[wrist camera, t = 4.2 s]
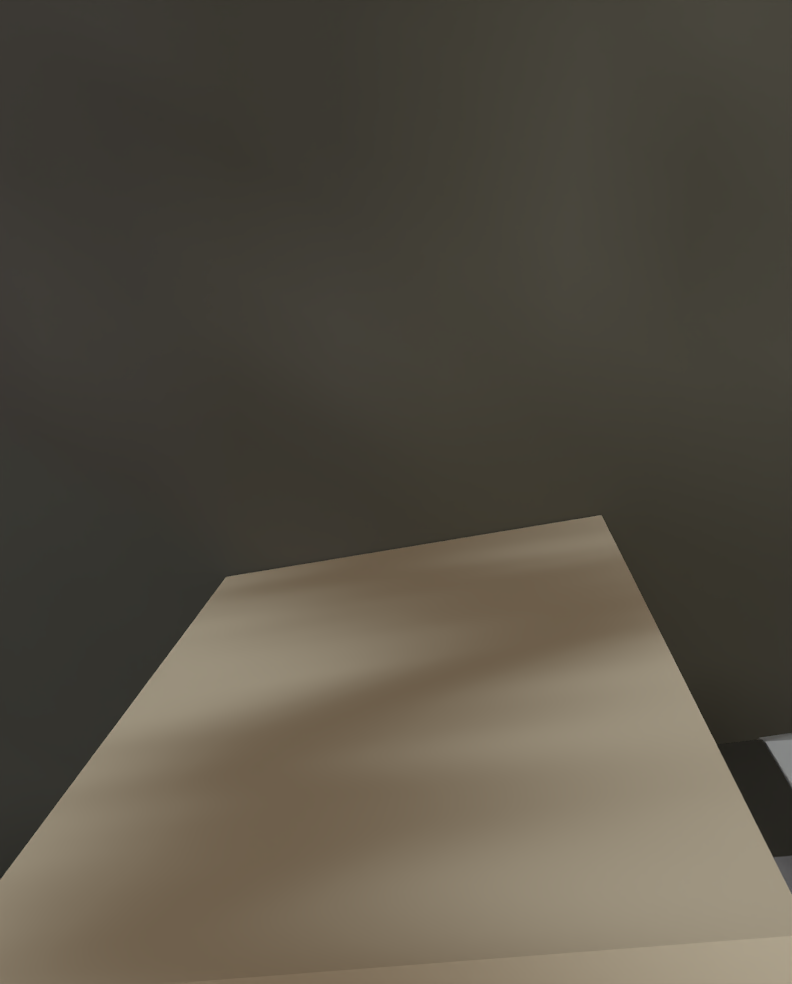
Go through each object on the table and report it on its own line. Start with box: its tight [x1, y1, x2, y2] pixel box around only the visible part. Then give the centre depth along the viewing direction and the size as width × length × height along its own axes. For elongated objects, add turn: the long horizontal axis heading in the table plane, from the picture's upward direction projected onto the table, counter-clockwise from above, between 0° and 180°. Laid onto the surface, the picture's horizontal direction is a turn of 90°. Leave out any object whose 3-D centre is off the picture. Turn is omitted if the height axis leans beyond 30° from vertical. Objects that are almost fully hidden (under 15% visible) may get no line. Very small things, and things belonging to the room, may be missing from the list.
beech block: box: [0, 515, 792, 984], centre depth 8 cm, size 5×5×6 cm
